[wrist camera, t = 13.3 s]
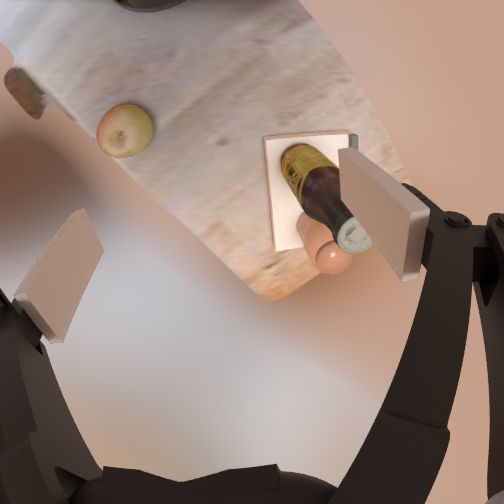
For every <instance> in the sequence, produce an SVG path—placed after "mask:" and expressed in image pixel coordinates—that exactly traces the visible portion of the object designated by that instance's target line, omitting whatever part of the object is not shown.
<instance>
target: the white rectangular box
mask: <svg viewBox="0 0 504 504" xmlns="http://www.w3.org/2000/svg"><path fill="white" fill-rule="evenodd" d="M301 143H305V144H308V145H310V146H313V147H315V148H317V149H318V150H319V151H320V152H321V153H323V154H324V155H325V156H326V157H327V158H328V159H329V160H331V161H332V162H333V163H334V164H335V165H336V166H337V167H338V168H339V160H338V149H341V148H349V147H353V148H354V149H355V150H357V151H358V135H356V134H354V133H352V132H350V131H329V132H312V133H299V134H287V135H276V136H267V137H264V147H265V157H266V167H267V177H268V187H269V198H270V209H271V220H272V232H273V243H274V247H275V250H276V251H280V250H287V249H294V248H301V247H304V245H303V243H302V240H301V238H300V236H299V234H298V232H297V228H296V223H297V220H298V218H299V216H300V215H301V213H302V212H304V211H303V209H302V207H301V206H300V204H299V202H298V200H297V199H296V197H295V195H294V194H293V192H292V190H291V189H290V187H289V185H288V184H287V182H286V180H285V179H284V177H283V175H282V171H281V157H282V155H283V153H284V152H285V151H286V150H287V149H288V148H289V147H290V146H293V145H295V144H301Z"/></svg>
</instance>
